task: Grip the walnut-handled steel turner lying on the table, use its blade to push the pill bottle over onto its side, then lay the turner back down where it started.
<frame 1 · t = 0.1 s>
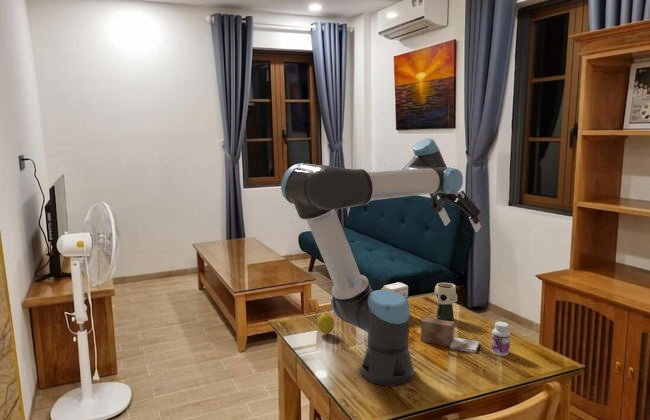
hand: (462, 226, 177), 36 cm above the table, tool tilted 35°, fingers open, 13 cm apart
lemon: (325, 335, 172), on the table
pill bottle: (500, 353, 158), on the table
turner: (452, 344, 164), on the table
character mug: (444, 319, 186), on the table
ink box: (395, 315, 190), on the table
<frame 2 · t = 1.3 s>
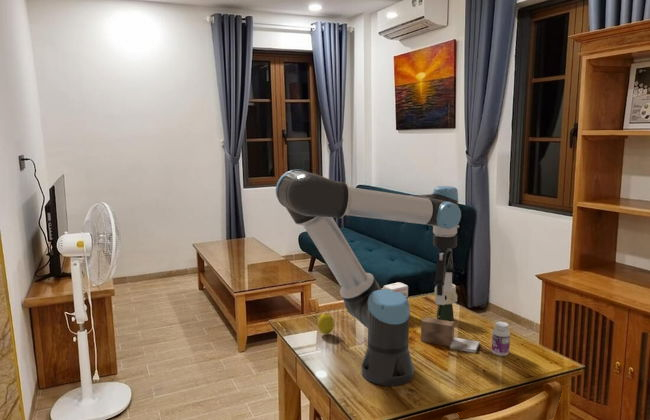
hand: (443, 297, 164), 15 cm above the table, tool pointing down, fingers open, 13 cm apart
nothing on the table moved.
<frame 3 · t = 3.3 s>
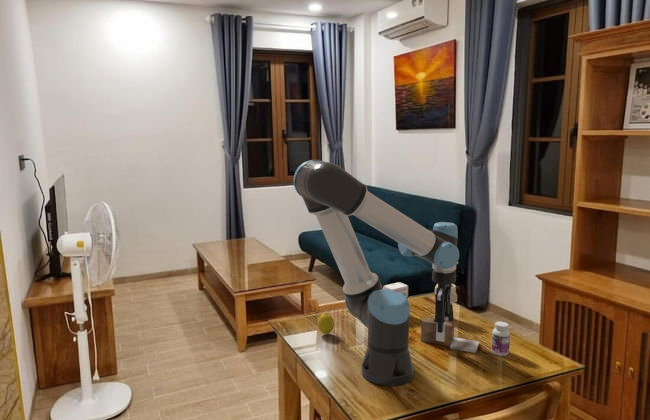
hand: (441, 337, 165), 1 cm above the table, tool pointing down, fingers closed on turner, 4 cm apart
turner: (452, 344, 164), on the table, touching gripper
everything else where it was.
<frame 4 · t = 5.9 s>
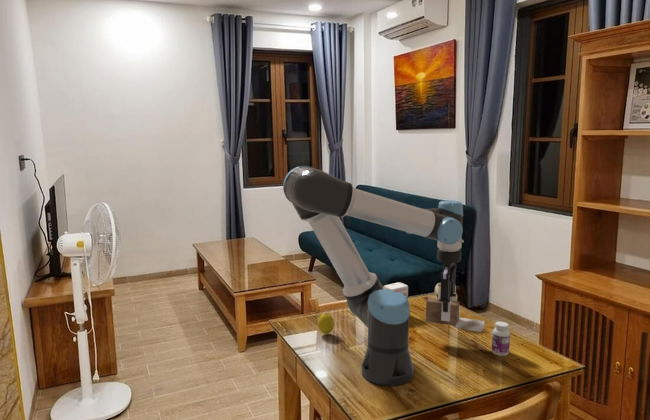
hand: (447, 317, 163), 9 cm above the table, tool pointing down, fingers closed on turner, 4 cm apart
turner: (457, 324, 162), point 7 cm above the table, touching gripper
everything else where it was.
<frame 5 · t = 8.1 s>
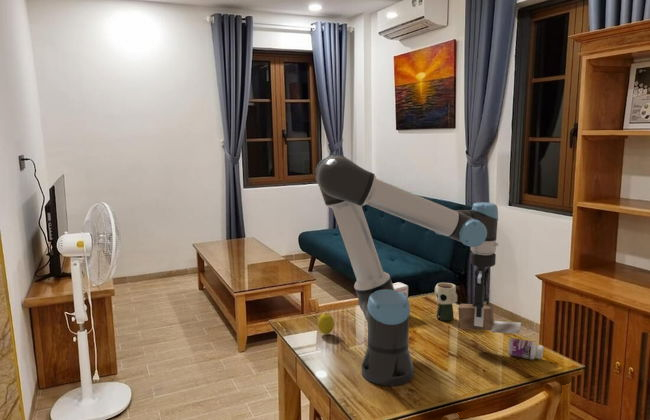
hand: (479, 323, 159), 9 cm above the table, tool pointing down, fingers closed on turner, 4 cm apart
pill bottle: (508, 346, 156), point 3 cm above the table
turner: (493, 328, 157), point 8 cm above the table, tilted 7°, touching gripper
everything else where it was.
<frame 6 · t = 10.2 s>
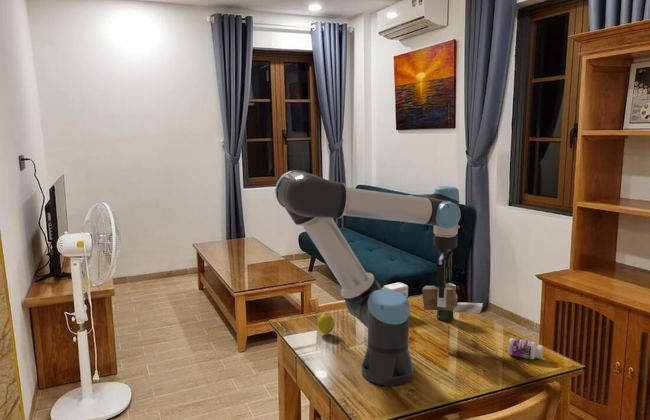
hand: (443, 304, 163), 13 cm above the table, tool pointing down, fingers closed on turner, 4 cm apart
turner: (455, 308, 162), point 12 cm above the table, tilted 7°, touching gripper
everything else where it was.
when the fingers open (3 cm above the table, at t = 12.2 s): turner drops 2 cm, on the table.
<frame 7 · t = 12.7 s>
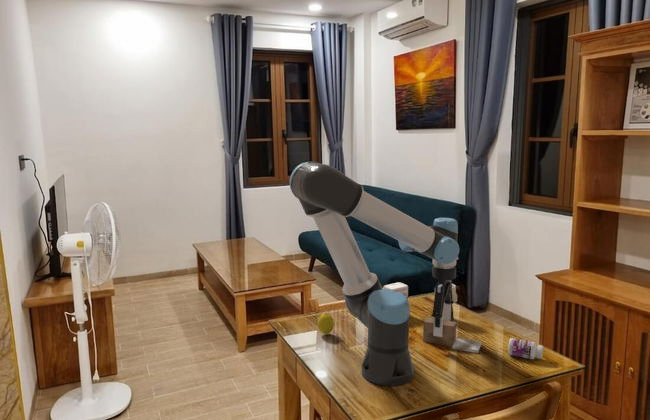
hand: (442, 328, 165), 5 cm above the table, tool pointing down, fingers open, 12 cm apart
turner: (454, 344, 164), on the table
everything else where it was.
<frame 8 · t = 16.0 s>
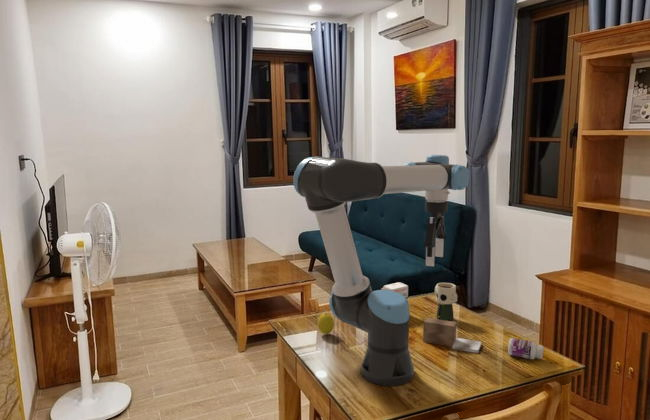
hand: (434, 261, 173), 25 cm above the table, tool pointing down, fingers open, 13 cm apart
nothing on the table moved.
at the end: pill bottle tilted 90°; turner inside the target area (0.7 cm from its centre), on the table; the gripper is holding nothing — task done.
